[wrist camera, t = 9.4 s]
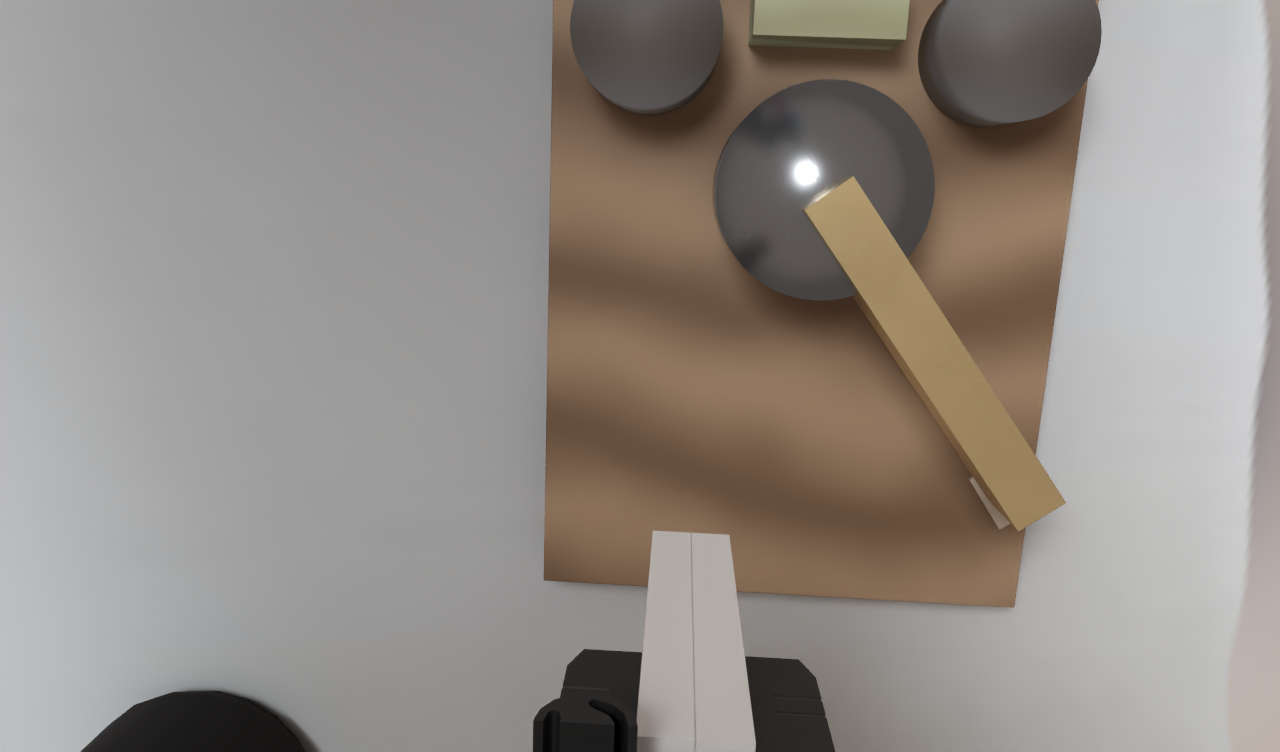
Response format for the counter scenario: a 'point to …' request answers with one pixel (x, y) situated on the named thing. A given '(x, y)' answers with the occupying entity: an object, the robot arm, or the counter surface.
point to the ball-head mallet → (868, 257)
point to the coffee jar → (196, 726)
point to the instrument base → (787, 326)
